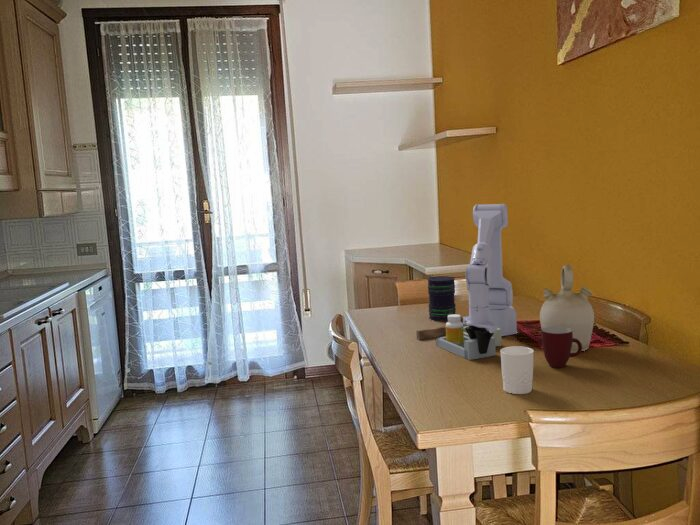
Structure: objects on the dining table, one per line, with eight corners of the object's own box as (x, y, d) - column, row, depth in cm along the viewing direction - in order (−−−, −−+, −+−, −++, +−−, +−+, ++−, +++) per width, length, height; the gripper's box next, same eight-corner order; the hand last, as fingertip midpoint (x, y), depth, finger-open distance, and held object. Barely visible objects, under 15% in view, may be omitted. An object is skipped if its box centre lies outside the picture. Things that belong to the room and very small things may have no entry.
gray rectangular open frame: (460, 341, 209) (460, 325, 208) (495, 355, 192) (495, 337, 191) (436, 345, 206) (435, 329, 205) (469, 360, 189) (468, 342, 188)
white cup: (496, 386, 165) (496, 347, 164) (527, 383, 166) (527, 345, 164) (507, 396, 157) (506, 355, 156) (539, 394, 158) (538, 353, 157)
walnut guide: (465, 331, 222) (465, 322, 222) (503, 345, 202) (503, 336, 202) (416, 338, 215) (416, 330, 215) (451, 354, 195) (451, 345, 195)
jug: (596, 343, 200) (596, 261, 196) (591, 356, 186) (591, 269, 182) (544, 339, 206) (543, 260, 203) (536, 353, 192) (535, 268, 189)
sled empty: (468, 333, 219) (467, 317, 218) (501, 345, 202) (501, 329, 201) (451, 335, 216) (451, 320, 216) (484, 348, 199) (484, 331, 199)
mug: (575, 360, 183) (575, 325, 182) (586, 368, 175) (586, 332, 174) (537, 362, 183) (537, 327, 182) (547, 371, 175) (546, 334, 174)
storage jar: (460, 316, 244) (459, 276, 242) (449, 322, 236) (448, 281, 234) (435, 314, 249) (434, 275, 247) (424, 320, 241) (422, 279, 239)
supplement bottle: (463, 348, 200) (462, 317, 199) (445, 348, 202) (444, 317, 200) (464, 344, 206) (463, 313, 204) (446, 343, 207) (446, 313, 206)
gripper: (453, 303, 194) (454, 348, 196) (481, 312, 181) (482, 360, 183) (473, 300, 197) (475, 344, 199) (503, 309, 184) (503, 356, 186)
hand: (480, 352), depth 191 cm, fingers closed on gray rectangular open frame, 3 cm apart
